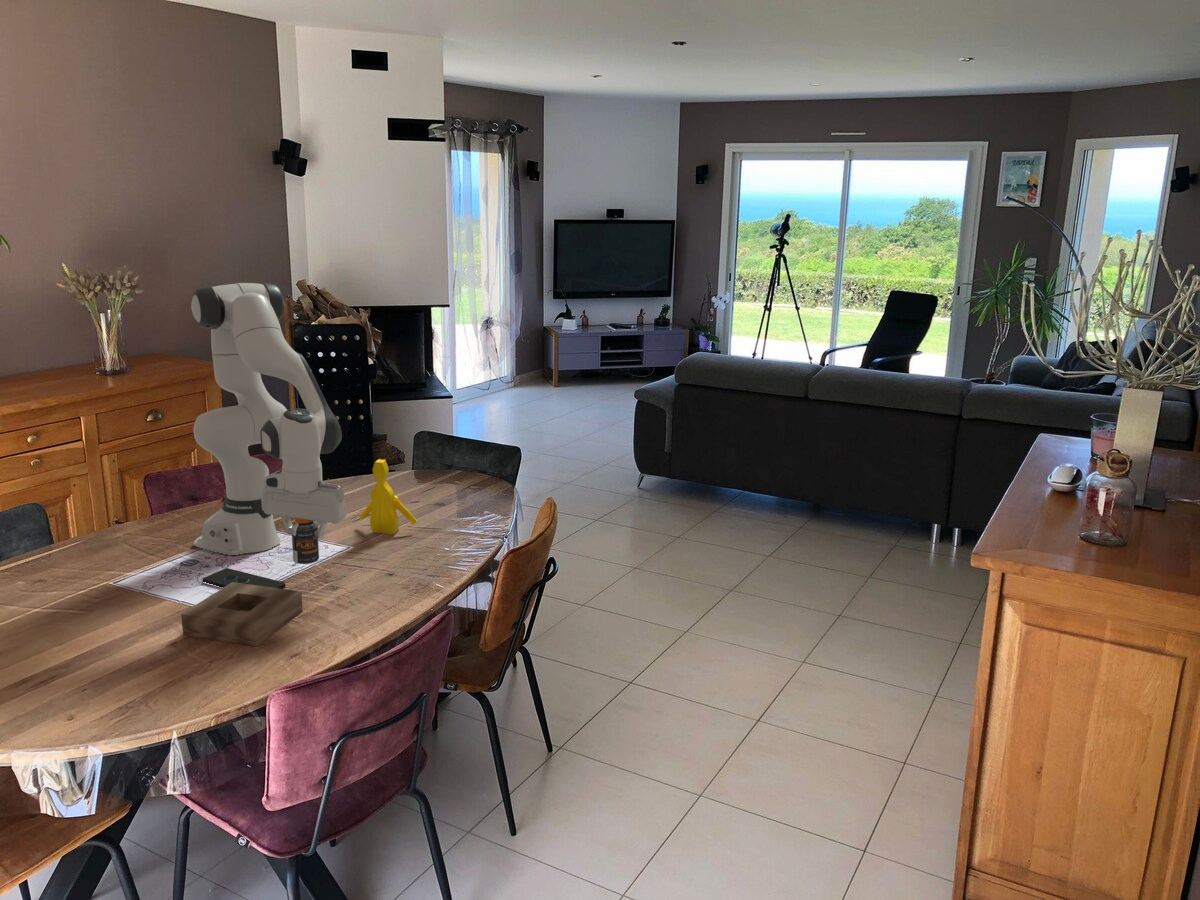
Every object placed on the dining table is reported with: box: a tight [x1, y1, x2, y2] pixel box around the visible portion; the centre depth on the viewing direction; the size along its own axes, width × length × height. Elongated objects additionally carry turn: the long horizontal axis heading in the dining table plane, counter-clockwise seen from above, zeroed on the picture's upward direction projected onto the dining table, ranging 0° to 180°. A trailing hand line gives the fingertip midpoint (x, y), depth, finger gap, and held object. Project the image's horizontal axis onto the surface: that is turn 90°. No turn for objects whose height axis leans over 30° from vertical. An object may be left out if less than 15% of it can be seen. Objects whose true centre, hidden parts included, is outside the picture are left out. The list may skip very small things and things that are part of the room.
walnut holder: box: [180, 582, 303, 647], centre depth 205 cm, size 18×18×5 cm
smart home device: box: [202, 567, 286, 589], centre depth 226 cm, size 8×2×20 cm
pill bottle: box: [291, 518, 320, 565], centre depth 217 cm, size 6×6×11 cm
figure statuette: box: [359, 459, 418, 535], centre depth 261 cm, size 18×8×22 cm, turn 78°
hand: (305, 535), depth 217 cm, fingers closed on pill bottle, 6 cm apart
